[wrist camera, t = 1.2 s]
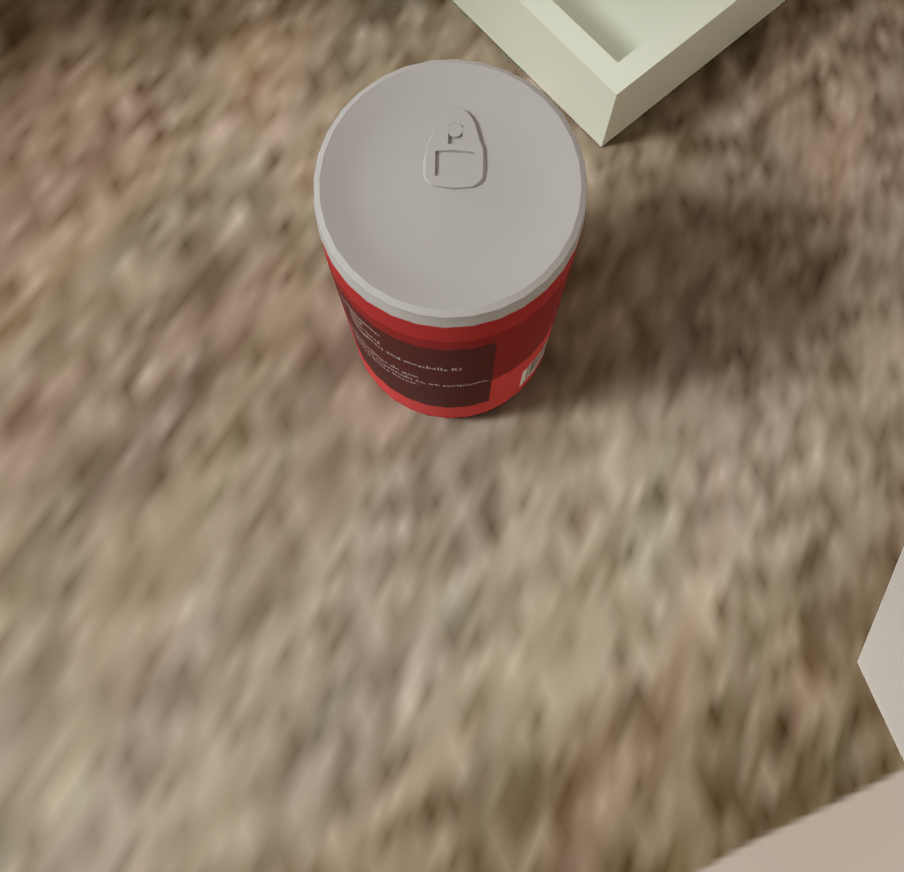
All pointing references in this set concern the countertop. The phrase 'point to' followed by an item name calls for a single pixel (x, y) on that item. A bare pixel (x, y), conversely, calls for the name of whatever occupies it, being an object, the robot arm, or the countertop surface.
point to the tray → (613, 49)
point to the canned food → (450, 230)
